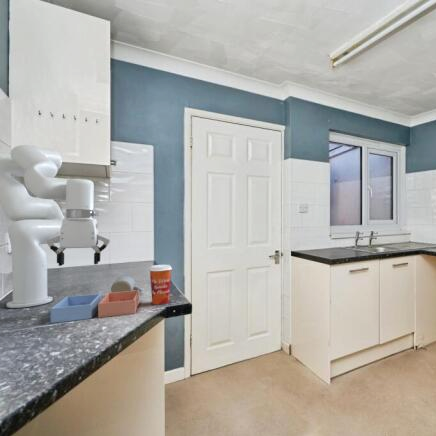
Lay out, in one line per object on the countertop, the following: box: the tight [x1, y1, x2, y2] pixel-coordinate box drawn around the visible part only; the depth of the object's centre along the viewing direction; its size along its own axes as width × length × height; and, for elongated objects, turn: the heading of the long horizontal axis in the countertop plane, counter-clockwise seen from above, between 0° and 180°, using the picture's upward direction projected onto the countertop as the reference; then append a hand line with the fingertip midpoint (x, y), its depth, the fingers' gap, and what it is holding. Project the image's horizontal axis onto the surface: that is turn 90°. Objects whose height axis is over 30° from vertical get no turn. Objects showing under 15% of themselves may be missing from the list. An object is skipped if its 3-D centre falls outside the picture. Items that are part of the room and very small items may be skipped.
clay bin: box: [97, 290, 141, 319], centre depth 111 cm, size 16×10×4 cm, turn 26°
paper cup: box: [148, 264, 173, 306], centre depth 119 cm, size 8×8×14 cm
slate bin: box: [50, 292, 103, 324], centre depth 105 cm, size 16×10×4 cm, turn 26°
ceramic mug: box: [110, 275, 143, 296], centre depth 129 cm, size 11×8×8 cm
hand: (79, 264), depth 108 cm, fingers open, 9 cm apart
